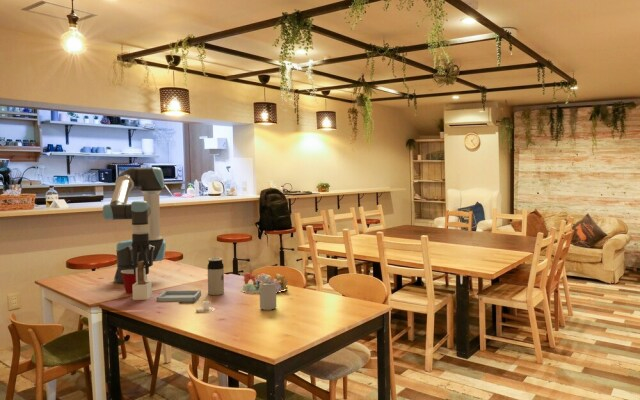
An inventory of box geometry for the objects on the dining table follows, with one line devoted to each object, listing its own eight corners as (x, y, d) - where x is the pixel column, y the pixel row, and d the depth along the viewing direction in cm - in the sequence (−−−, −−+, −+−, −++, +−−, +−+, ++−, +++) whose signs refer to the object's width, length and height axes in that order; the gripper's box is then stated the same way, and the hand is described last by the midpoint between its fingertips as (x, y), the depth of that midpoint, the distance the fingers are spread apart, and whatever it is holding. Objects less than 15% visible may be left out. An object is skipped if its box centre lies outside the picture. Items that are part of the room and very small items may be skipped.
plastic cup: (147, 293, 255) (146, 270, 254) (125, 297, 248) (125, 273, 247) (139, 289, 263) (138, 267, 262) (118, 293, 256) (117, 270, 255)
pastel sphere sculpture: (281, 283, 277) (281, 267, 277) (294, 293, 255) (294, 275, 255) (237, 287, 269) (236, 270, 268) (246, 297, 247) (246, 279, 246)
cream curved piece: (197, 314, 219) (197, 305, 219) (193, 309, 226) (193, 301, 226) (217, 311, 223) (216, 302, 223) (212, 307, 230) (212, 298, 230)
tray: (165, 295, 251) (165, 290, 250) (201, 295, 251) (200, 290, 251) (156, 303, 237) (156, 297, 236) (194, 302, 237) (194, 297, 237)
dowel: (139, 297, 244) (138, 261, 243) (146, 297, 244) (145, 260, 243) (137, 298, 241) (136, 262, 240) (144, 298, 241) (143, 262, 240)
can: (279, 307, 228) (278, 281, 227) (272, 311, 221) (271, 285, 220) (264, 306, 230) (263, 280, 230) (257, 310, 223) (256, 284, 223)
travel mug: (204, 294, 252) (204, 259, 251) (213, 291, 259) (213, 256, 258) (218, 296, 249) (217, 260, 248) (227, 292, 256) (226, 257, 255)
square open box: (137, 297, 247) (137, 281, 246) (152, 297, 247) (151, 281, 246) (132, 301, 240) (132, 284, 239) (147, 301, 240) (147, 284, 239)
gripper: (120, 234, 237) (122, 282, 238) (154, 233, 237) (155, 282, 239) (126, 232, 244) (127, 279, 246) (159, 231, 245) (160, 279, 246)
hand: (141, 280), depth 242 cm, fingers closed on dowel, 3 cm apart
